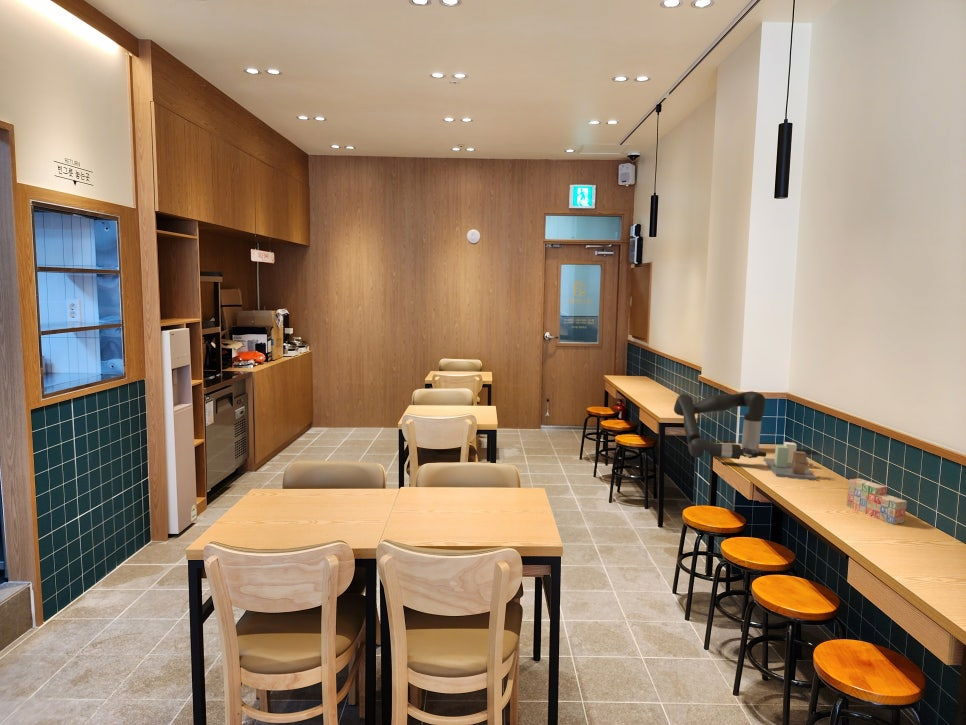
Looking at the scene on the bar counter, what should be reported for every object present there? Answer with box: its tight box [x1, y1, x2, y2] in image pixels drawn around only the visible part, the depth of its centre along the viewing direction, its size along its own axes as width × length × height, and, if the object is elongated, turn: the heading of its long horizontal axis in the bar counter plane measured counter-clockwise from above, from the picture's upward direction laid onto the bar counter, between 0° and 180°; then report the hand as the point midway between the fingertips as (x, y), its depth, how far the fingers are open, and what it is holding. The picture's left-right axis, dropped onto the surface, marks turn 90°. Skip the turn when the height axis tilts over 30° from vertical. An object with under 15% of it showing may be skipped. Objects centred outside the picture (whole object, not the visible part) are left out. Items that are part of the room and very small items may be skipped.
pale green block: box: [774, 444, 789, 468], centre depth 326 cm, size 5×5×10 cm
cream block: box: [783, 441, 798, 464], centre depth 335 cm, size 5×5×10 cm
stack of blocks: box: [846, 478, 908, 525], centre depth 262 cm, size 21×6×12 cm, turn 21°
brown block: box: [791, 450, 808, 474], centre depth 315 cm, size 5×5×10 cm
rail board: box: [763, 457, 817, 481], centre depth 326 cm, size 31×18×2 cm, turn 167°
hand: (765, 454), depth 328 cm, fingers closed
